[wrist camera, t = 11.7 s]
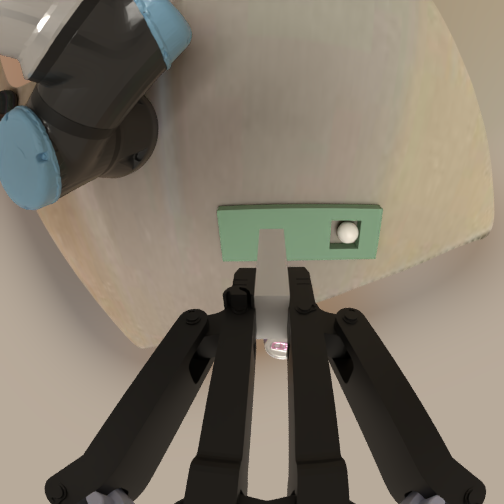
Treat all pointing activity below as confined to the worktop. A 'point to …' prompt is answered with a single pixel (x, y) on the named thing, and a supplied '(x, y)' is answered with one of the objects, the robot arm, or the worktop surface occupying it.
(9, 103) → the mate gourd
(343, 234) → the white ball
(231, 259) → the green rectangular board
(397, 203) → the worktop surface
